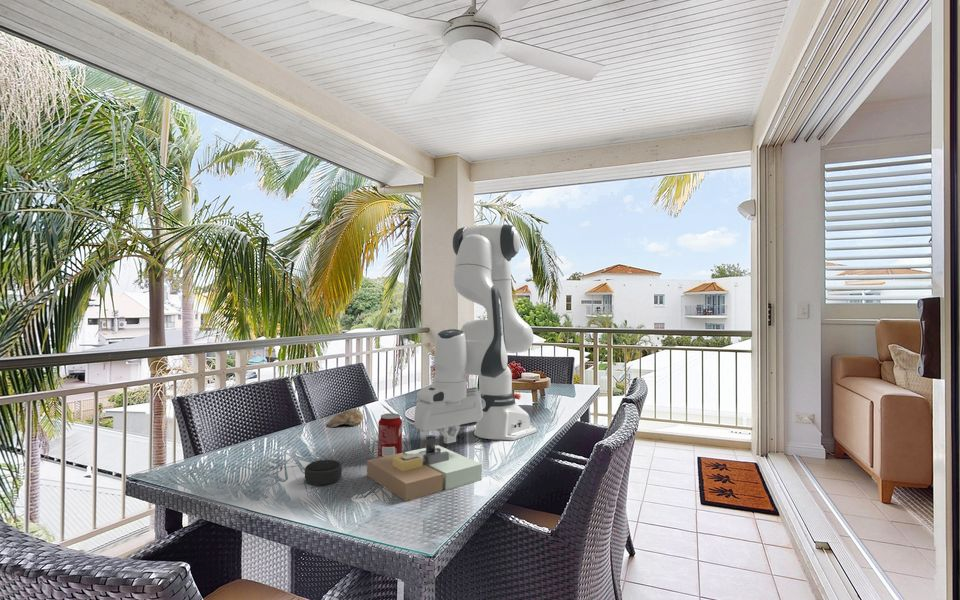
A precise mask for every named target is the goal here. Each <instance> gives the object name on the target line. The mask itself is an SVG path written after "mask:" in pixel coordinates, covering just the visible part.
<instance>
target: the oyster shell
mask: <svg viewBox="0 0 960 600" xmlns="http://www.w3.org/2000/svg"><path fill="white" fill-rule="evenodd" d="M364 418H365V416H364V414H363V412H362V411H361V410H359V409H358V408H351V409H347V410H344V411H343V412H339V413H337V414H336V415H334V416H333V417H332V418H331V419H330V420H329V422H328V423H327V426H329V427H331V428H335V427H338V426H340V425H349V426H350V427H351V426H352V427H356V425H357V426H360V425H361V424H362V421H363V420H364ZM360 423H361V424H360ZM359 424H360V425H359ZM329 427H328V428H329Z"/></svg>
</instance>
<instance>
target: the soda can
mask: <svg viewBox="0 0 960 600" xmlns="http://www.w3.org/2000/svg"><path fill="white" fill-rule="evenodd" d="M377 426H378V427H377V428H378V429H377V430H378V431H377V432H378V436H377V437H378V438H377V440H378V441H377V451H378V452H377V455H378V458H380V457H385V456H390V455H394V454H399V453H402V454H403V420H402V419H401V414H399V413H395V412H393V413H392V412H391V413H390V412H389V413H384V414H381V415H380V419H379V421H378V425H377Z"/></svg>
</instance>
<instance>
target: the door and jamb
mask: <svg viewBox="0 0 960 600" xmlns="http://www.w3.org/2000/svg"><path fill="white" fill-rule="evenodd" d="M435 450H437V451H439V453H437V454H432V455H428V456H427V462H424V463H423V458H421V457H419V458H414V459H410V460H405V461H404V460H402V459H401V457H403V456H407V455H412V454H416V453H421V452H425V451H426V447H424V448H418V449H413V450H409V451H405V452H404V453H403V452H402V453H399V454H394V455H390V456H385V457H377V458H371V459H367V460H366V476H367V477H368V478H370V479H371V480H373V481H375V483H378V484H379V485H380V486H382V487H384V488H385V489H387V490H388V491H389V492H391V493H393V494H394V495H395V496H397V497H399V498H400V499H402V500H403V501H405V502H407V501H412V500H415V499H419V498H422V497H426V496H429V495H432V494H433V495H434V494H436V493H439V492H443V491H444V490H446V491H447V490H450V489H451V490H452V489H454V488H457V487H461V486H464V485H468V484H471V483H475V482H479V481H482V479H483V478H482V475H483V473H482V463H480V462H478V461H475V460H473V459H471V458H469V457H466V456H464V455H461V454H460V453H457V452H455V451H452V450H450V449H448V448H446V447H443V446H441V445H439V444H437V445H435Z"/></svg>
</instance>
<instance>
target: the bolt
mask: <svg viewBox="0 0 960 600" xmlns="http://www.w3.org/2000/svg"><path fill="white" fill-rule="evenodd" d="M435 446H436V435H433V434H427V435H426V436H425V448H426V451H425V452H421V453H416V454H412V455H407V456H403V457H401V459H402V460H404V461H405V460H410V459H414V458H419V457H421V458H423V463H424V462H427V456H428V455H432V454H437V453H439V451H437V450H435Z"/></svg>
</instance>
